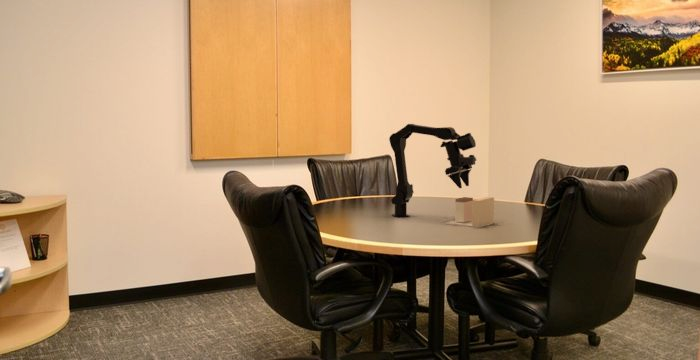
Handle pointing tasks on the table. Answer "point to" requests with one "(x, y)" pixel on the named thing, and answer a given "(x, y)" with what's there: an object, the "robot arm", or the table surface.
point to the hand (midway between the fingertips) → (464, 187)
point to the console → (479, 213)
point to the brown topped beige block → (463, 209)
